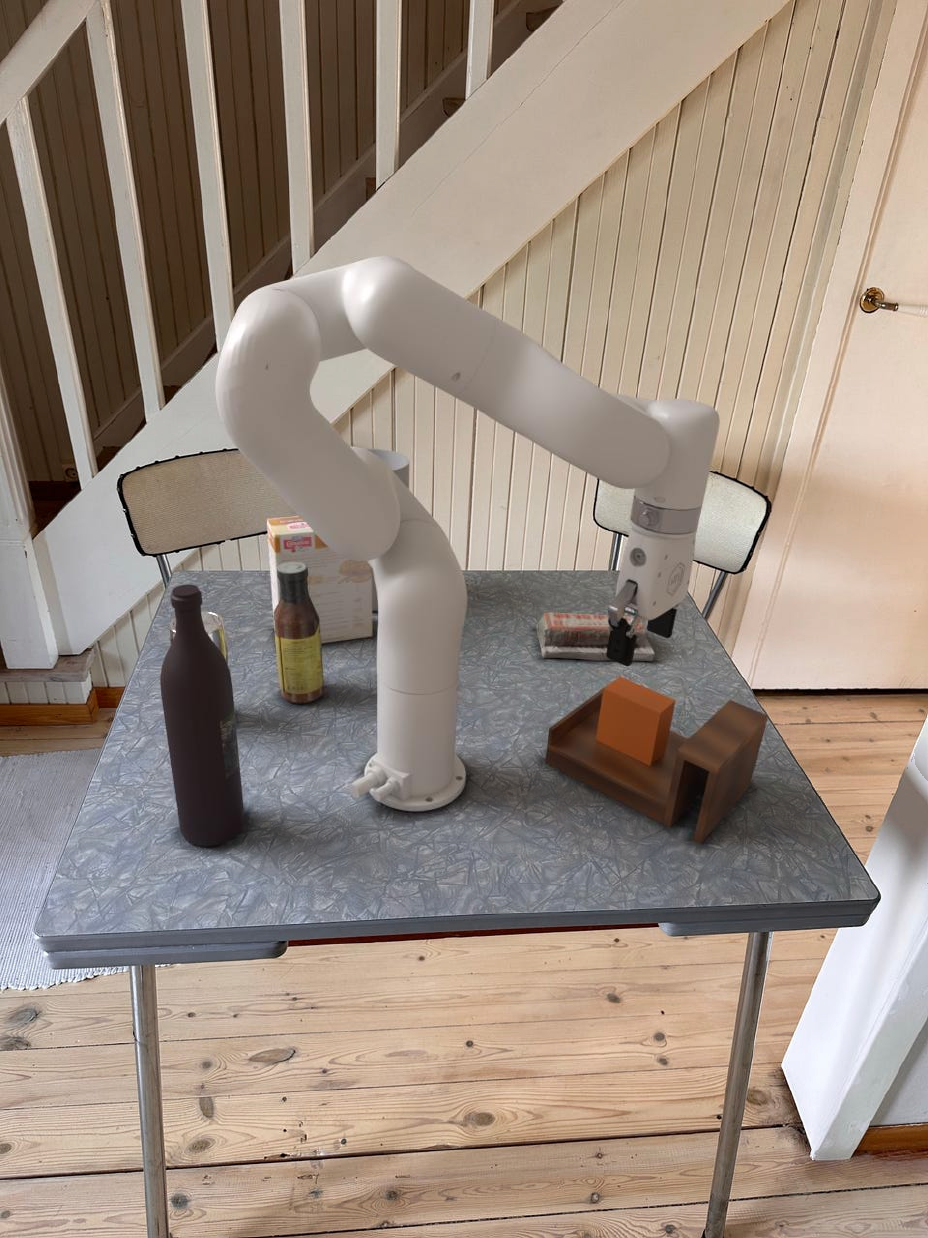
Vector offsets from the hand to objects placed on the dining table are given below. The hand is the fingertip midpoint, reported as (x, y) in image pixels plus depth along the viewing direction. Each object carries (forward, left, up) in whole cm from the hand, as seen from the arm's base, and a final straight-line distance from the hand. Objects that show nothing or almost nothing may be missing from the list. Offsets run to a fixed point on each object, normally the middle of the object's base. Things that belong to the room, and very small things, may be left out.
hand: (639, 647), depth 102 cm
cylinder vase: (+11, +57, -18) cm, 61 cm away
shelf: (0, -4, -18) cm, 18 cm away
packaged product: (+24, +19, -18) cm, 36 cm away
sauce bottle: (-18, +42, -18) cm, 49 cm away
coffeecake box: (-4, +53, -18) cm, 56 cm away
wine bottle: (-43, +28, -18) cm, 54 cm away
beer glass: (-31, +46, -18) cm, 58 cm away
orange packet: (0, -1, -15) cm, 15 cm away
